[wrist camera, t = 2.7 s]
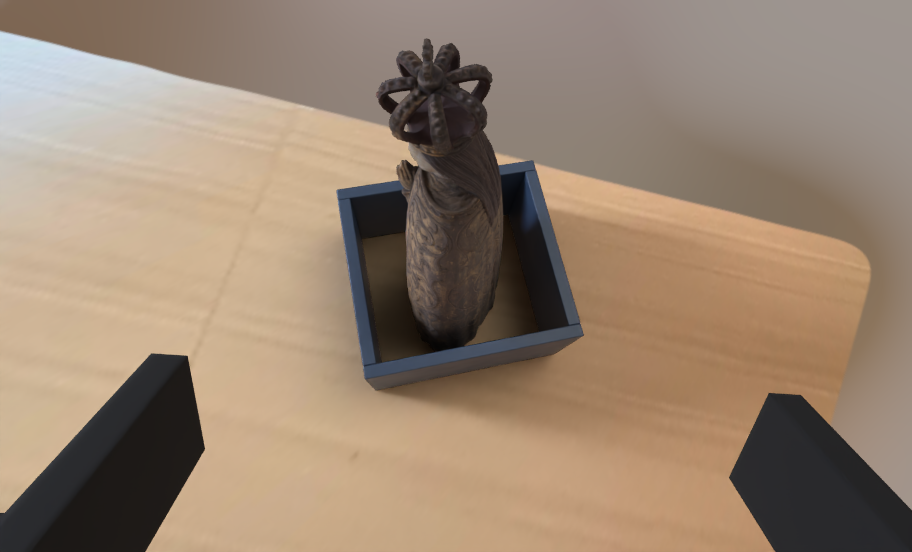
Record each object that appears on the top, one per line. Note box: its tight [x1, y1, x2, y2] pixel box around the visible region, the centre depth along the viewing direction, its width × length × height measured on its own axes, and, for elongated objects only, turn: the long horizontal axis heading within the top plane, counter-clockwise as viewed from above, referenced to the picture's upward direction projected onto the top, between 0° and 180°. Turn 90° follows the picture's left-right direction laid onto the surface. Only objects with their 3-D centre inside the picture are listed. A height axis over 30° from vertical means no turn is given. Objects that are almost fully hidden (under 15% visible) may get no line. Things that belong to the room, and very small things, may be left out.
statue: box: [376, 39, 503, 352], centre depth 26 cm, size 9×8×25 cm
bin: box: [337, 161, 584, 390], centre depth 35 cm, size 13×14×7 cm
